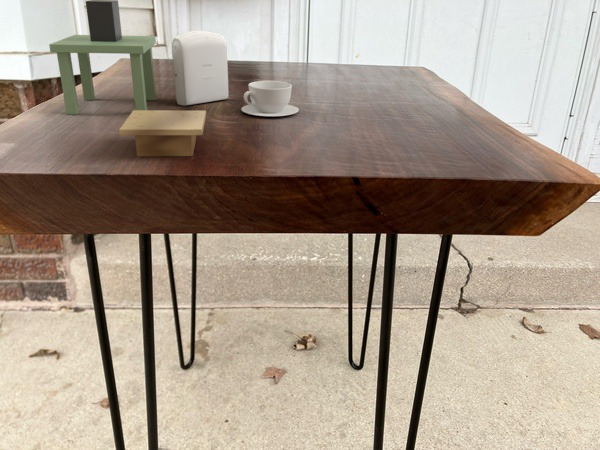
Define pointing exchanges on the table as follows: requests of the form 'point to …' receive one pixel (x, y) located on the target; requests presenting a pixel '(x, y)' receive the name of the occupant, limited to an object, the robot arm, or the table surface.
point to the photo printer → (200, 67)
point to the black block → (104, 20)
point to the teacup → (269, 99)
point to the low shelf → (164, 131)
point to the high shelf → (83, 46)
